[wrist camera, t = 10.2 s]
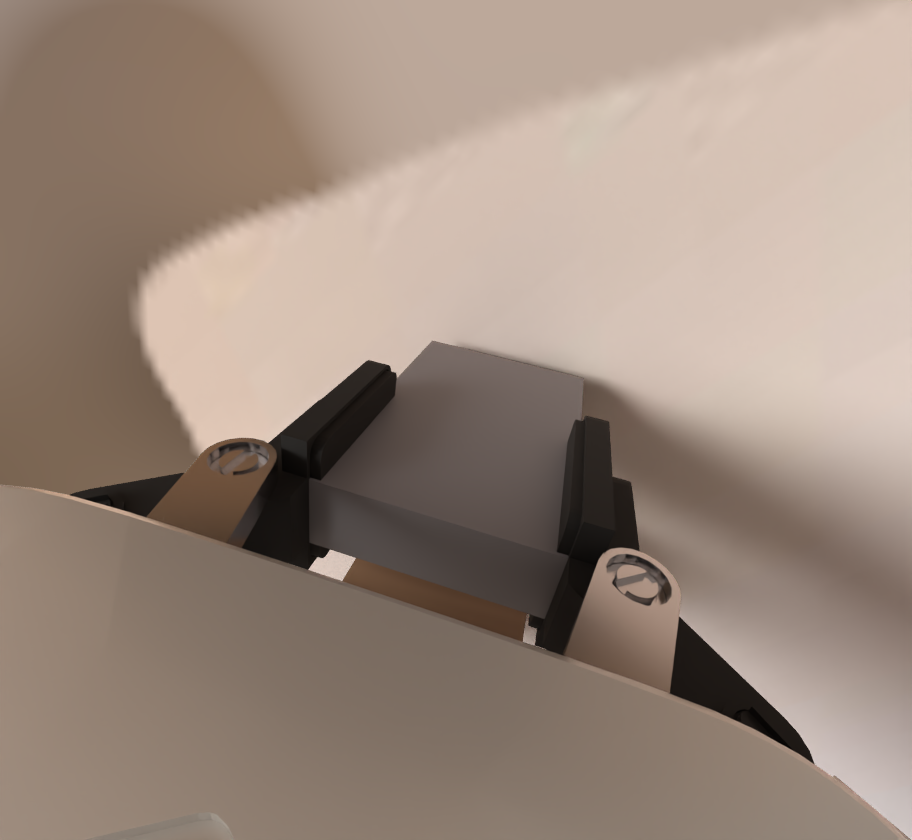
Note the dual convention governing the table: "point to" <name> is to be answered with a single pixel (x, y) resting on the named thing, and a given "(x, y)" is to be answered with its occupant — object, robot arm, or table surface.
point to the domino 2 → (437, 598)
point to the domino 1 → (459, 478)
